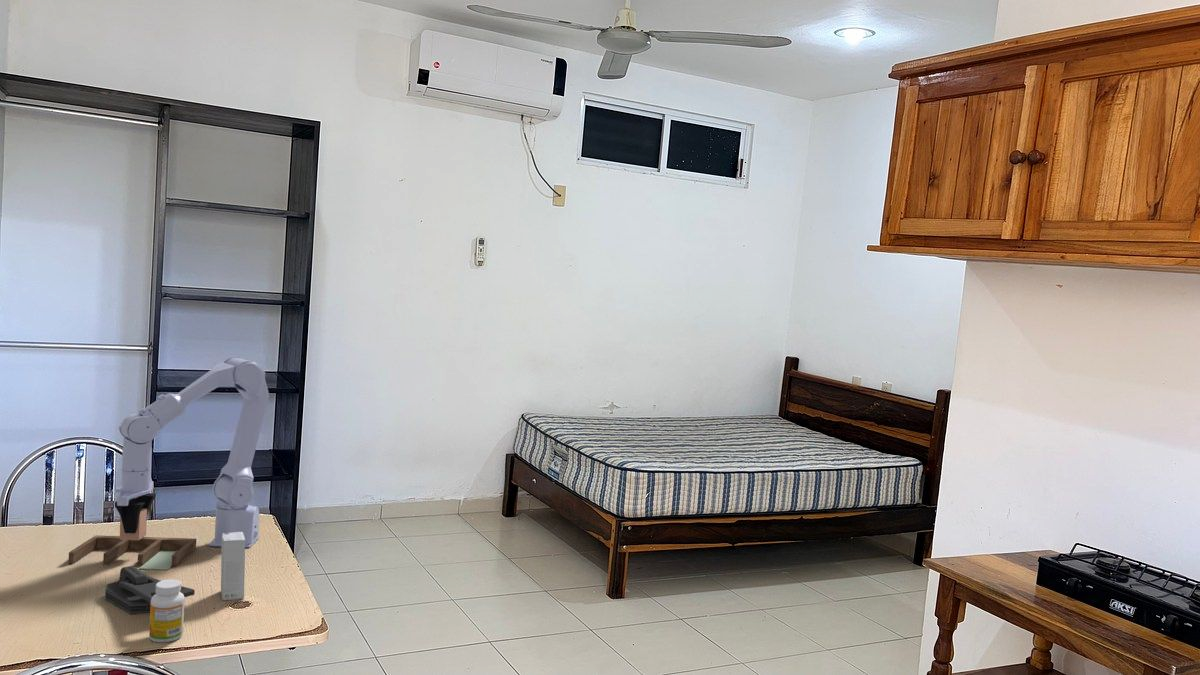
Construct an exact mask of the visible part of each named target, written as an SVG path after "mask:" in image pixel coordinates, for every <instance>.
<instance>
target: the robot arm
mask: <svg viewBox="0 0 1200 675" xmlns="http://www.w3.org/2000/svg"><path fill="white" fill-rule="evenodd" d="M223 387H224V388H225V387H226V388H229V387H230V388H231V387H232V388H233V387H234V388H235V389H236V390H237V391H238V392H239V394H240V395H241V396H242V398H243V403H242V406H241V410H240V414H239V418H238V421H237V426H236V430H235V432H234V436H233V441H232V445H231V449H230V452H229V456H228V460H227V463H226V464H225V465H223V467H222V468H221V470H220V473H219V476H218V477H217V478H216V479H215V481H214V482H213V486H212V492H213V495H214V496H215V498H217V501H216V502H215V520H214V521H215V522H214V524H215V526H214V539H212V540H211V541H210V542H209V543H208V547H221V546H222V534H223V533H233V532H243V534H244V537H245V548H251V547H252V546H253V545H254V543H256V542H257V541H258V539H260V536H259V530H260V528H259V527H260V526H259V525H260V509H259V507H258V506H256V505H255V506H253V505H251V504H250V503H251V502H252V500H253V498H254V495H255V492H254V488H253V487H254V486H253V483H254V478H255V477H254V475H253V471H252V464H253V461H254V457H255V453H256V450H257V447H258V446H257V445H258V441H259V437H260V434H261V429H262V426H263V422H264V418H265V414H266V410H267V406H268V402H269V398H270V392H269V389H268V388H269V387H268V386H267V382H266V372H265V370H264V369H263V368H262V367H261V366H260V364H259V363H258V362H256V361H253V360H247V359H243V358H242V357H240V356H231V357H228V358H226V359H225V361H222V362H219V363H217V364H216V365H214V367H212V369H210V370H209V371H207V372H206V373H204V374H203V375H202V376H201V377H199V378H197V379H196V380H194V381H193V382H192V383H190V384H189V385H188V386H187V387H185V388H183V389H182V390H180V391H179V392H178V393H166V394H163V393H162V394H159V395H158V396H157V400H155V401H154V402H152V403H151V404H149V405H147V406H146V407H144V408H143V407H141V408H139V409H138V410H137V412H138V413H132V414H130V415H127V416H126V417H125V418H123V421H122V422H121V425H120V426H119V427H118V430H119V433H120V435H121V436H122V437H123V440H122V442H123V445H122V454H121V455H122V456H121V458H122V460H121V486H120V487H119V486H118V487H117V488H115V493H119V495H118V496H117V498H116V501H115V502H114V508H115V509H116V510H117V512H118V514H119V517H120V516H121V520H122V523H123V528H124V531H125V533H136V530H137V527H138V520H139V516H140V512H141V510H142V508H144V509H147V516H148V514H149V511H150V508H151V506H152V504H153V502H154V500H155V499H156V498H157V497H156V496H157V495H156V493H154V492H153V493H152V491H153V490H154V481H152V461H153V460H152V455H153V454H152V453H153V448H152V445H153V443H152V442H153V440H154V439H155V438H156V437H157V436H156V435H157V432H158V431H160V430H162V429H163V428H165V427H166V426H168V425H169V424H171V423H173V422H174V421H175V420H177V419H178V418H181V416H183V415H184V414H185V412H186V409H187V406H188V405H190V404H191V403H194V402H195V401H197V400H198V399H200V398H202V397H203V396H206V395H207V394H208V393H211V392H212V391H214V390H216V389H217V388H223Z"/></svg>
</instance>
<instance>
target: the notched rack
mask: <svg viewBox="0 0 1200 675" xmlns="http://www.w3.org/2000/svg"><path fill="white" fill-rule="evenodd" d="M96 549H105V552H103V556H102V557H103V558H102V565H103V566H109V565H110V564H112V563H113V562H114V561H115V560H117V559H118V558H120V557H121V556H123V555H124V554H125V553H126V552H128V551H129V550H135V551H136V550H138V551H139V550H142V551H141V552H139V553H138V554H137V566H138V567H139V568H138V569H139V570H151V571H152V570H156V571H157V570H158V571H160V570H161V571H168V570H170V568H177V567H178V566H179V565H180V564H181V563H182V562H184V561H185V560H186V559H187V558H188V557H189V556H191V555H192V554H193V553H194V552H195V551H196V550H197V538H190V537H189V538H188V537H187V538H186V537H158V536H157V537H155V536H153V537H151V536H144V537H143V538H141V539H140V540H120V535H100V534H99V535H98V534H97V535H96V534H95V535H93V536H92V537H91V538H89V539H87V540H86V541H85V542H82V543H81V544H79V545H78V546H76V547H75V548H73V549H72V550H70V551H69V552H68V563H74V564H76V563H77V562H79V561H80V560H81V558H82V559H83V558H85V557H86V556H88V555H89V554H91V553H92V552H94V551H96ZM106 549H108V550H107V551H106ZM87 554H88V555H87ZM84 556H85V557H84ZM78 560H79V561H78ZM76 561H77V562H76ZM75 562H76V563H75Z"/></svg>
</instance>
